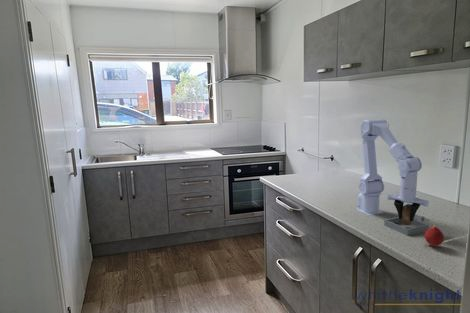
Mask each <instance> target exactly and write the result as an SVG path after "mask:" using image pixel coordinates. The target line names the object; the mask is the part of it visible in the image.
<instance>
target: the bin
mask: <svg viewBox="0 0 470 313" xmlns="http://www.w3.org/2000/svg"><path fill="white" fill-rule="evenodd" d="M400 224H401V219H399V217H398V216H397V217H393V218H392V217H391V218H387V219H384V222H383V226H385V227H387V228H389V229H392V230H393V231H395V232H398V233H400V234H403V235H405V236H406V237H407V236H412V235H416V234H420V233H425V232H426V231H427V230H428V229H429V226H430V225H429V224H427V223H425V222H420V221H417V220H415V219H414V220H413V221H412V222H411V225H410V226H413V227H410V228H406V227H404V226H401V225H400Z"/></svg>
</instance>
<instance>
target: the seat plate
mask: <svg viewBox="0 0 470 313" xmlns="http://www.w3.org/2000/svg"><path fill="white" fill-rule="evenodd" d="M397 217H399V216H397ZM414 219H415V220H417V221H420V222H423V223H425V222H429V221H431V219H429V218H426V217H425V216H421V215H418V214H417V213H416V214H415V216H414Z"/></svg>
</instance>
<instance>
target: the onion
mask: <svg viewBox="0 0 470 313" xmlns="http://www.w3.org/2000/svg"><path fill="white" fill-rule="evenodd" d="M423 235H424V239H425V241H426V243H428V244H429V245H430V246H431V247H433V248H434V247H438V246H440V245H441V244H443V243H444V240H445V237H444V234H443V232H442V231H441V229H439V228H438V227H437V226H436V225H432V227H430V228H429V227H428V230H427V231H425V232H424V234H423Z"/></svg>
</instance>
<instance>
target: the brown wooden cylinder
mask: <svg viewBox="0 0 470 313" xmlns="http://www.w3.org/2000/svg"><path fill="white" fill-rule="evenodd" d="M410 205H412V203H406V204H405V205H404V204H403V207H402V217H401V223H400V224H401V225H403V226H409V227H411V226H412V225H411V221H410V215H411V209H410Z"/></svg>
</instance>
